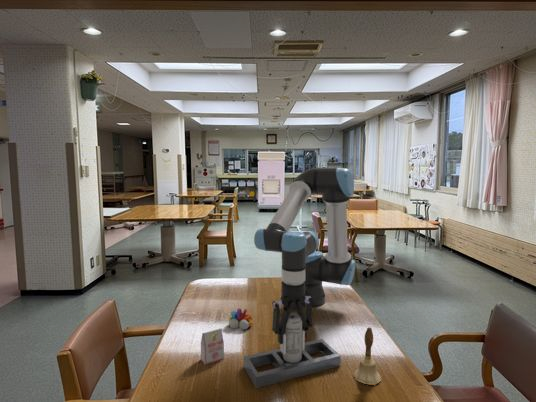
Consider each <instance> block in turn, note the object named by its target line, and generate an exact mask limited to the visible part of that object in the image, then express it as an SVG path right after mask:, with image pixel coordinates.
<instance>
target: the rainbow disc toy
mask: <svg viewBox="0 0 536 402" xmlns="http://www.w3.org/2000/svg"><path fill="white" fill-rule="evenodd" d="M247 312H248V309H247V308H245V309H244V310H242V308H240V307H239V308H237V310H233V311H231V313H230V314H231V317H229V320H228V321H229V322H228V325H229V326H230V328H231V329H237V328H240V329H241V330H244V331H246V330H247V329H248V328H249V327H250V326H252V325H253V323H254V322H253V315H252V313H247Z"/></svg>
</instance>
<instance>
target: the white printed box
mask: <svg viewBox="0 0 536 402" xmlns="http://www.w3.org/2000/svg"><path fill="white" fill-rule="evenodd" d="M200 339H201V340H200V360H201V362H203V365H205V366H206V365H209V364H212V363H215V362H219V361H221V360H224V359H225V343H224V342H225V341H224V337H223V329H222V328H218V329H213V330H210V331H206V332H202V335H201V338H200Z"/></svg>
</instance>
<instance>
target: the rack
mask: <svg viewBox="0 0 536 402" xmlns="http://www.w3.org/2000/svg"><path fill="white" fill-rule="evenodd" d="M320 352H321V353H322V354H323V355H324V356H320V357H317V358H313V357H312V356H311V355H312V354H315V353H320ZM341 359H342V358H341V354H340V353H338V352H337V351H336V350H335V349H334V348H333V347H332V346H330V344H329V343H327V342H326V341H325V340H324V339H323V338H320V339H316V340H315V339H314V340H311V341H307V342H305V349H304V350H302V358H301V360H300V361H299V363H295V364H289V363H287V362H285V360H284V358H283V353H282V352H281V351H280V348H275V349H271V350H267V351H263V352H259V353H253V354H250V355H245V356H243V361H242V362H243V369H244V370H245V371H246V374H247V376H248V377H249V378H250V381H251V382H252V384H253V385H254V387H255V388H256V389H259V388H263V387H267V386H271V385H273V384H277V383H281V382H285V381H288V380H291V379H296V378H299V377H303V376H307V375H311V374H314V373H318V372H322V371H326V370H329V369H333V367H334V368H337V366H338V367H341ZM271 364H272V366H273V367H274V368H272V369H268V370H264V371H260V372H258V370H257V369H256V368H258V367H262V366H267V365H271ZM325 369H326V370H325Z"/></svg>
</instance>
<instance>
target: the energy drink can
mask: <svg viewBox="0 0 536 402" xmlns="http://www.w3.org/2000/svg"><path fill="white" fill-rule="evenodd" d="M284 333H285V334H286V354H285V355H284V354H283V358H284V360H285V362H287V363H289V364H295V363H299V361H300V360H301V358H302V320H301V318H300V315H299V314H297V312H291V314H290V315H289V318H288V321H287V325H286V328H285V331H284Z"/></svg>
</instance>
